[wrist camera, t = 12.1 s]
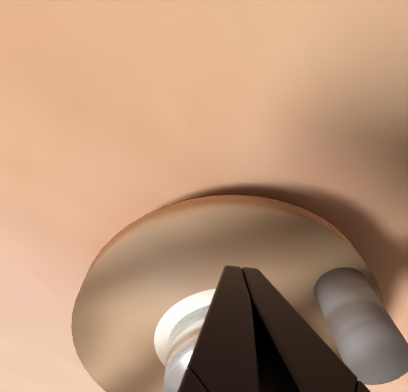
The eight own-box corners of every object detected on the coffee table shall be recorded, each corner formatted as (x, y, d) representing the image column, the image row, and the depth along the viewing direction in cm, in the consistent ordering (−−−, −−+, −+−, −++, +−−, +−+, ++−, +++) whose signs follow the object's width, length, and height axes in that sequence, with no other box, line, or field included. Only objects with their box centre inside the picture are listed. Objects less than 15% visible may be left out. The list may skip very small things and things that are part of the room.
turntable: (412, 338, 25) (482, 441, 19) (196, 430, 30) (196, 534, 24) (277, 124, 17) (321, 183, 11) (16, 300, 22) (-51, 405, 16)
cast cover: (310, 354, 22) (325, 400, 20) (213, 397, 24) (215, 444, 22) (247, 281, 19) (255, 324, 17) (142, 338, 21) (134, 384, 19)
